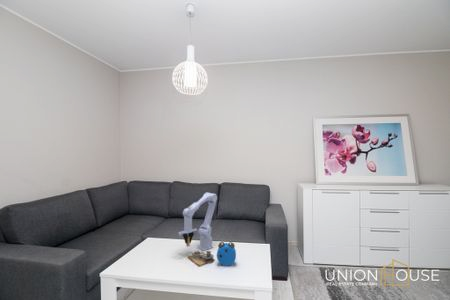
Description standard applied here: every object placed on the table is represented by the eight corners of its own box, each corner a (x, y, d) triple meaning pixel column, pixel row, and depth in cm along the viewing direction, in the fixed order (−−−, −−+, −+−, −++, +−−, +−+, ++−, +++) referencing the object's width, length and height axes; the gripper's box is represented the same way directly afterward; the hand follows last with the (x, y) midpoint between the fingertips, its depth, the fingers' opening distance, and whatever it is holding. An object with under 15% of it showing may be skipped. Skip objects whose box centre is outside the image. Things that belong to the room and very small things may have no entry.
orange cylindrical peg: (188, 244, 168) (188, 235, 169) (190, 246, 167) (190, 236, 167) (185, 245, 167) (185, 236, 167) (187, 246, 165) (187, 237, 165)
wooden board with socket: (202, 252, 171) (202, 244, 171) (215, 261, 158) (215, 252, 158) (187, 257, 163) (187, 248, 163) (199, 267, 150) (199, 257, 150)
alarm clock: (235, 262, 157) (235, 240, 157) (235, 266, 151) (235, 244, 151) (217, 261, 158) (217, 240, 158) (216, 266, 151) (216, 244, 151)
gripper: (193, 221, 175) (193, 238, 174) (176, 225, 166) (176, 243, 166) (198, 223, 169) (198, 241, 169) (181, 227, 160) (181, 246, 160)
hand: (188, 242), depth 167 cm, fingers closed on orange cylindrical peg, 2 cm apart
